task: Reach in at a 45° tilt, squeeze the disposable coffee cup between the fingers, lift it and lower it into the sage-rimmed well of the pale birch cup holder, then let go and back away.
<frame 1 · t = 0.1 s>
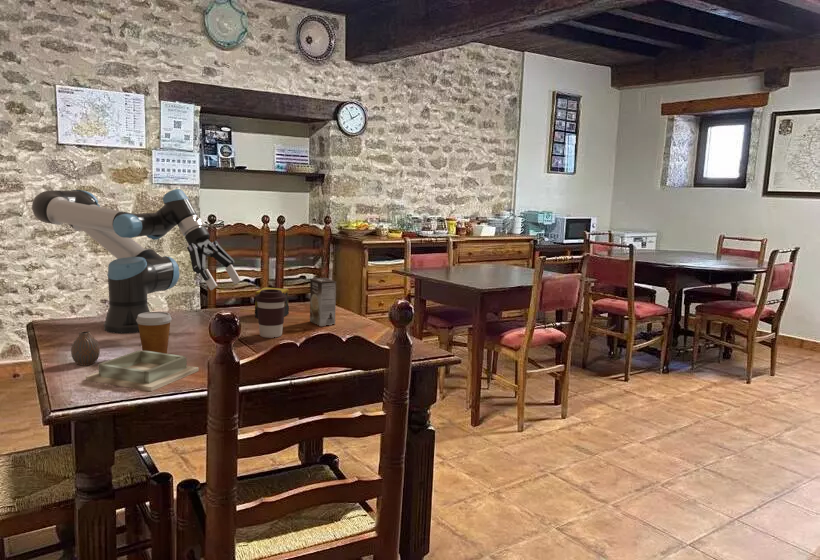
hand: (226, 285, 213), 15 cm above the table, tool tilted 35°, fingers open, 13 cm apart
vase: (86, 364, 173), on the table
cup holder: (144, 375, 164), on the table
coffee box: (322, 323, 230), on the table
disposable coffee cup: (155, 356, 182), on the table
coffee cup: (270, 336, 210), on the table
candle: (272, 316, 239), on the table
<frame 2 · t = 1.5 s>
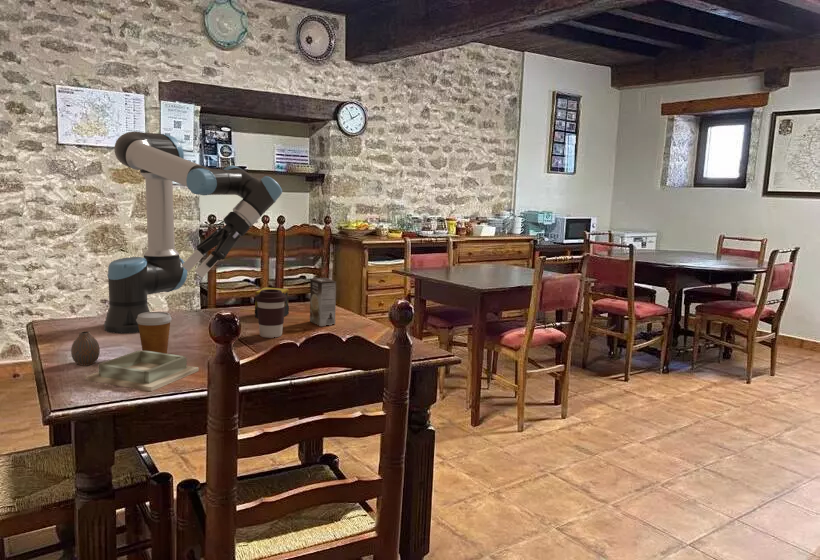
hand: (191, 271, 185), 24 cm above the table, tool tilted 45°, fingers open, 13 cm apart
nothing on the table moved.
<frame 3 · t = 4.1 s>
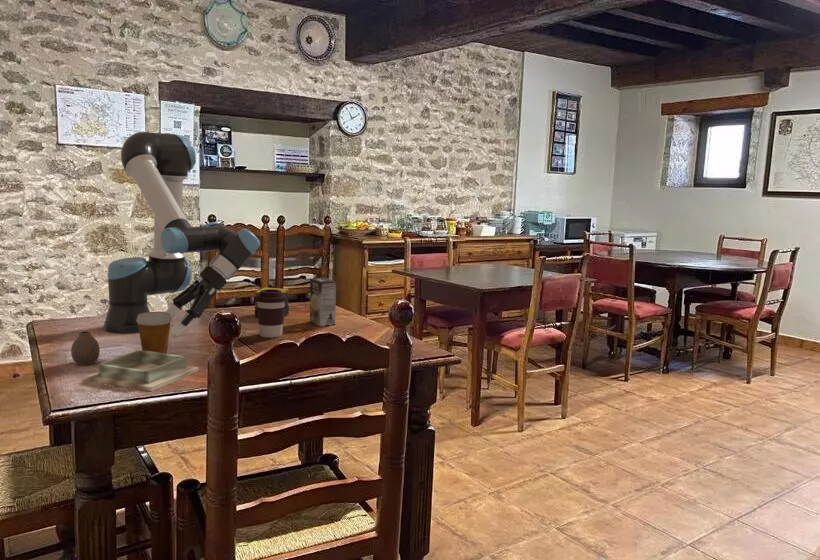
hand: (167, 328, 182), 8 cm above the table, tool tilted 45°, fingers open, 13 cm apart
nothing on the table moved.
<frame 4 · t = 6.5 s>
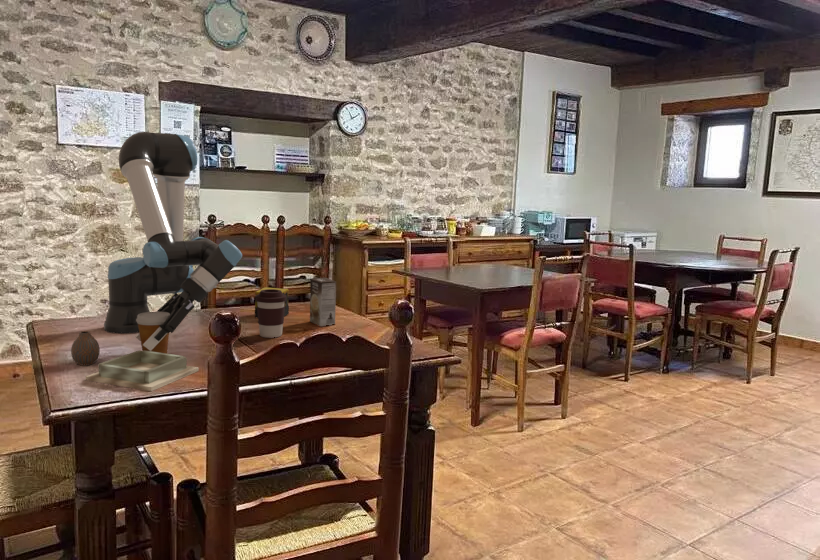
hand: (142, 343, 180), 4 cm above the table, tool tilted 45°, fingers closed on disposable coffee cup, 9 cm apart
disposable coffee cup: (155, 356, 182), on the table, touching gripper
everything else where it was.
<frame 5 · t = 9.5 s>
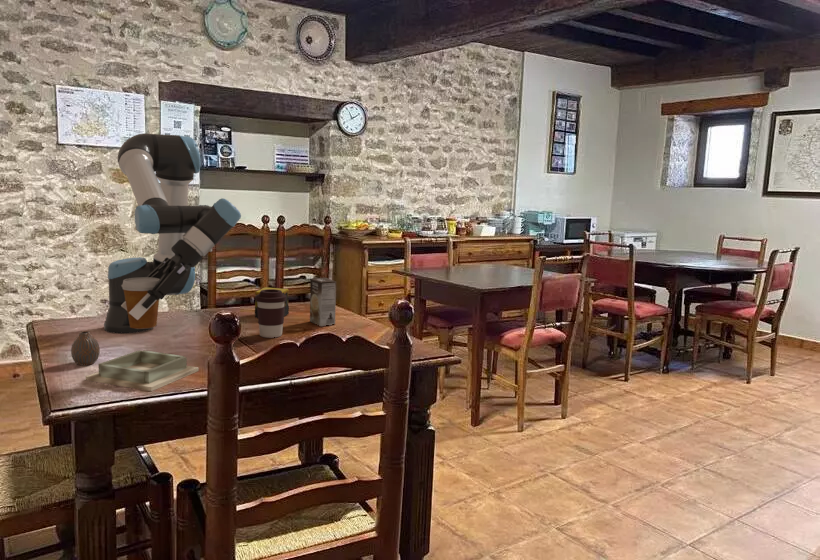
hand: (129, 312, 160), 17 cm above the table, tool tilted 45°, fingers closed on disposable coffee cup, 9 cm apart
disposable coffee cup: (143, 326, 162), point 13 cm above the table, touching gripper
everything else where it was.
when the fingers open (6 cm above the table, at t = 12.4 s): disposable coffee cup moves 2 cm, resting on cup holder.
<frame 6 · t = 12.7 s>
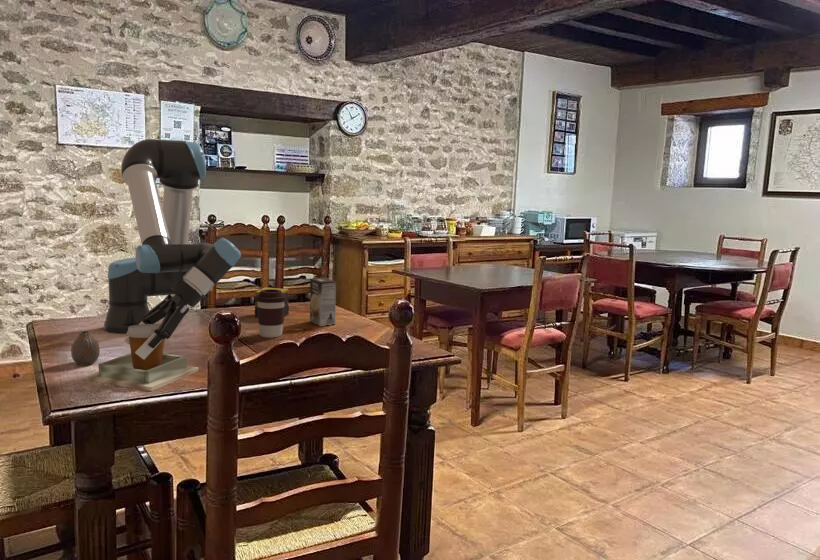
hand: (133, 349, 162), 7 cm above the table, tool tilted 45°, fingers open, 13 cm apart
disposable coffee cup: (147, 373, 162), point 1 cm above the table, touching cup holder, gripper
everything else where it was.
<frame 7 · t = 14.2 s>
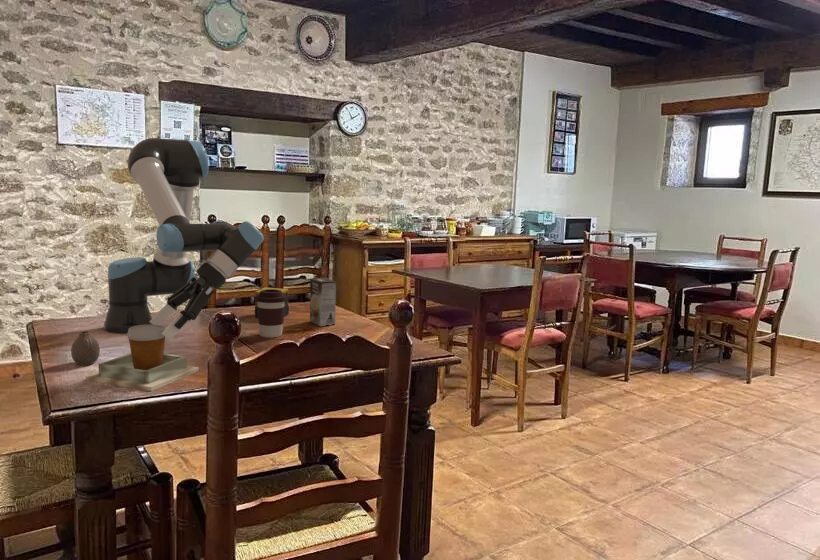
hand: (159, 330, 164), 12 cm above the table, tool tilted 45°, fingers open, 13 cm apart
disposable coffee cup: (148, 374, 162), point 1 cm above the table, touching cup holder
everything else where it was.
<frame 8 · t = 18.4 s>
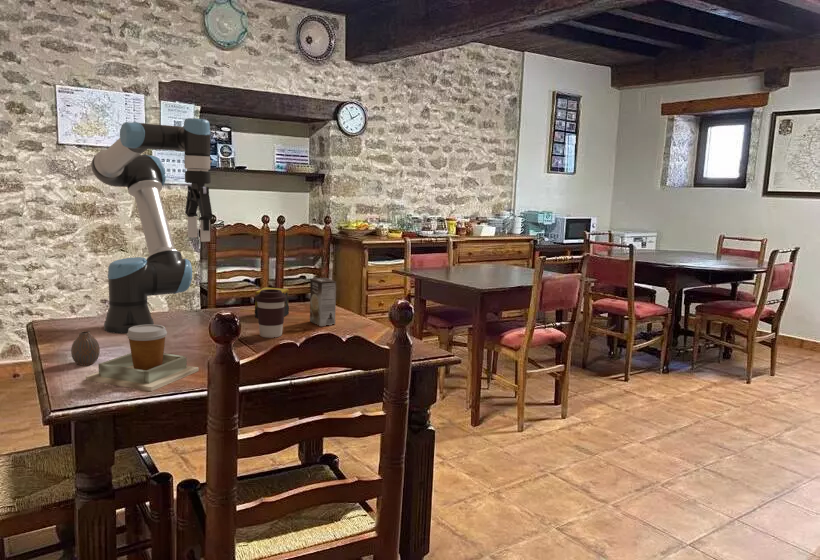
hand: (198, 239, 198), 32 cm above the table, tool pointing down, fingers open, 13 cm apart
nothing on the table moved.
at the end: disposable coffee cup 2.5 cm off-centre on the cup holder, point 0.8 cm above the cup holder's base; disposable coffee cup tilted 0°; the gripper is holding nothing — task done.
